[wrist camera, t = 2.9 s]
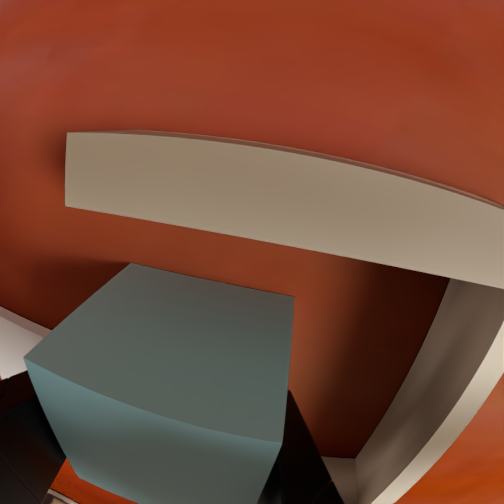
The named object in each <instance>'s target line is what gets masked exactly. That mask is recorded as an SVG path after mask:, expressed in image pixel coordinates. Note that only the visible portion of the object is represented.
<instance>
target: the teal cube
mask: <svg viewBox="0 0 504 504" xmlns="http://www.w3.org/2000/svg"><path fill="white" fill-rule="evenodd" d="M293 313H294V297H293V296H288V295H282V294H277V293H272V292H267V291H261V290H256V289H251V288H246V287H241V286H236V285H231V284H226V283H221V282H216V281H212V280H207V279H202V278H197V277H193V276H188V275H183V274H179V273H174V272H169V271H165V270H160V269H156V268H151V267H147V266H143V265H138V264H134V263H130V264H129V265H128V266H127V267H125V268H124V269H123V270H122V271H120V272H119V273H118V274H117V275H116V276H114V277H113V278H112V279H111V280H110V281H108V282H107V283H106V284H105V285H104V286H102V287H101V288H100V289H99V290H98V291H96V292H95V293H94V294H93V295H92V296H91V297H89V298H88V299H87V300H86V301H85V302H84V303H82V304H81V305H80V306H79V307H78V308H77V309H76V310H74V311H73V312H72V313H71V314H70V315H69V316H68V317H66V318H65V319H64V320H63V321H62V322H61V323H60V324H59V325H57V326H56V327H55V328H54V329H53V330H52V331H51V332H50V333H49V334H48V335H46V336H45V337H44V338H43V339H42V340H41V341H40V342H39V343H38V344H37V345H36V346H35V347H33V348H32V349H31V350H30V351H29V352H28V353H27V354H26V355H25V356H24V357H23V359H24V362H25V365H26V368H27V370H28V373H29V376H30V379H31V381H32V384H33V386H34V389H35V391H36V394H37V396H38V399H39V401H40V404H41V406H42V408H43V410H44V413H45V415H46V417H47V419H48V421H49V424H50V426H51V428H52V430H53V432H54V434H55V436H56V438H57V440H58V442H59V444H60V446H61V448H62V450H63V451H64V453H65V455H66V457H67V459H68V460H69V462H70V464H71V466H72V468H73V469H74V471H75V473H76V474H77V476H78V477H79V478H81V479H83V480H85V481H87V482H89V483H92V484H94V485H96V486H98V487H100V488H102V489H105V490H107V491H109V492H112V493H114V494H116V495H119V496H121V497H124V498H126V499H129V500H131V501H134V502H137V503H139V504H256V503H257V501H258V499H259V496H260V494H261V492H262V490H263V488H264V485H265V483H266V481H267V479H268V476H269V474H270V472H271V469H272V467H273V465H274V462H275V460H276V458H277V455H278V453H279V450H280V448H281V445H282V441H283V432H284V422H285V412H286V402H287V391H288V380H289V368H290V355H291V342H292V328H293Z"/></svg>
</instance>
